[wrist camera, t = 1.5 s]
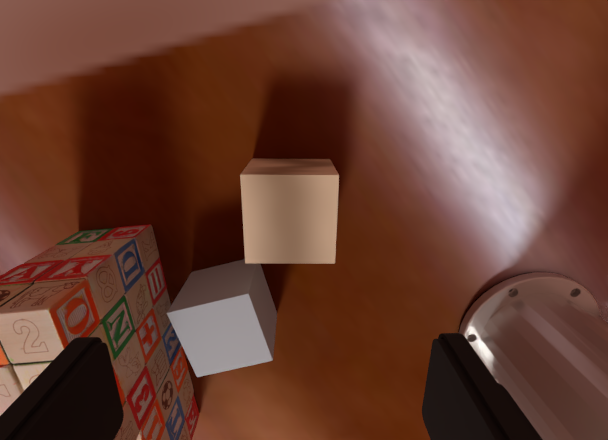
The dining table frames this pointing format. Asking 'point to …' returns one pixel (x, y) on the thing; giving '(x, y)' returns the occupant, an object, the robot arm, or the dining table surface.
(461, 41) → the dining table surface
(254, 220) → the maple cube
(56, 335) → the stack of blocks
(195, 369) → the bluegrey block
